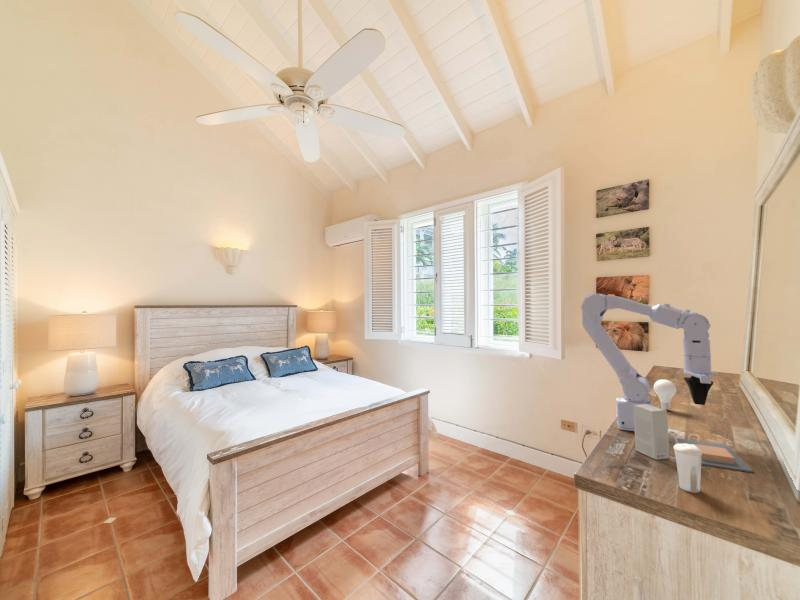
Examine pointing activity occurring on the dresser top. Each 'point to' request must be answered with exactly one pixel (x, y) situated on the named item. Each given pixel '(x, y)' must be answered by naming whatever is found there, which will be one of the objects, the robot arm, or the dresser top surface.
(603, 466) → the dresser top surface
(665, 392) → the lightbulb
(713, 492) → the dresser top surface
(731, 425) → the dresser top surface
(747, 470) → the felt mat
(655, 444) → the skincare box
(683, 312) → the robot arm
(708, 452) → the tile
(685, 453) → the milkshake
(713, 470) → the dresser top surface
